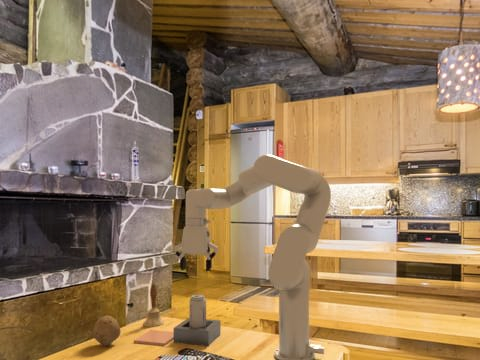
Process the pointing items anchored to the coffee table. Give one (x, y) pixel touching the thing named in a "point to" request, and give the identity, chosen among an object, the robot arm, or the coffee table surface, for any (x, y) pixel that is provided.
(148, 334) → the terracotta tile
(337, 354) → the coffee table surface
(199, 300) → the energy drink can
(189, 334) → the frame
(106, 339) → the natural sponge
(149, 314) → the hand bell
